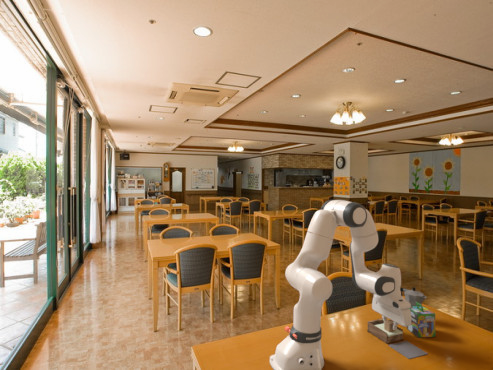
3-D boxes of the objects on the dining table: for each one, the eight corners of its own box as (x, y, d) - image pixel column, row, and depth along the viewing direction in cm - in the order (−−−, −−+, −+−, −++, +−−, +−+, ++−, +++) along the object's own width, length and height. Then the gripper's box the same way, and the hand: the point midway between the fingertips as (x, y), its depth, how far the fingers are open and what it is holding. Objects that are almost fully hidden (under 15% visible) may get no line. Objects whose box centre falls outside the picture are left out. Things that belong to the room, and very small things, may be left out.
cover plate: (388, 336, 136) (388, 326, 136) (373, 327, 145) (373, 317, 145) (402, 333, 139) (402, 323, 139) (386, 324, 148) (386, 314, 148)
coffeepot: (431, 323, 156) (431, 289, 156) (420, 327, 151) (421, 292, 151) (403, 312, 169) (403, 281, 169) (393, 315, 165) (393, 283, 165)
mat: (409, 359, 124) (409, 358, 124) (388, 345, 134) (388, 344, 134) (428, 354, 128) (428, 353, 128) (406, 341, 138) (406, 340, 138)
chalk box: (436, 337, 142) (436, 306, 142) (417, 338, 141) (418, 307, 141) (423, 328, 151) (423, 299, 151) (406, 328, 151) (406, 299, 150)
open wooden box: (386, 343, 136) (386, 332, 136) (367, 331, 147) (367, 321, 147) (402, 339, 140) (402, 329, 139) (383, 328, 151) (383, 318, 151)
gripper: (369, 291, 149) (368, 318, 149) (403, 307, 130) (403, 338, 130) (378, 289, 151) (378, 316, 151) (414, 305, 132) (413, 336, 132)
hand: (390, 327), depth 140 cm, fingers open, 3 cm apart
